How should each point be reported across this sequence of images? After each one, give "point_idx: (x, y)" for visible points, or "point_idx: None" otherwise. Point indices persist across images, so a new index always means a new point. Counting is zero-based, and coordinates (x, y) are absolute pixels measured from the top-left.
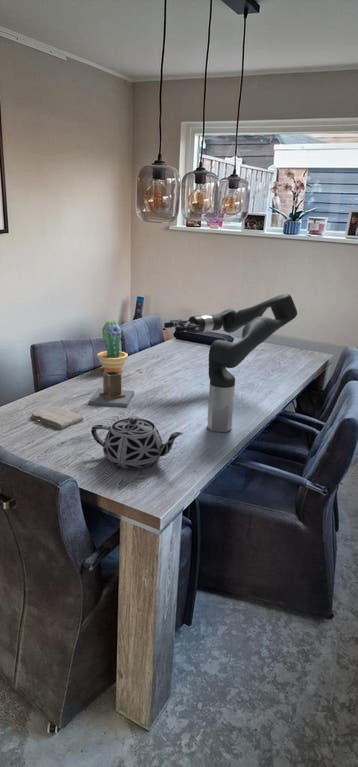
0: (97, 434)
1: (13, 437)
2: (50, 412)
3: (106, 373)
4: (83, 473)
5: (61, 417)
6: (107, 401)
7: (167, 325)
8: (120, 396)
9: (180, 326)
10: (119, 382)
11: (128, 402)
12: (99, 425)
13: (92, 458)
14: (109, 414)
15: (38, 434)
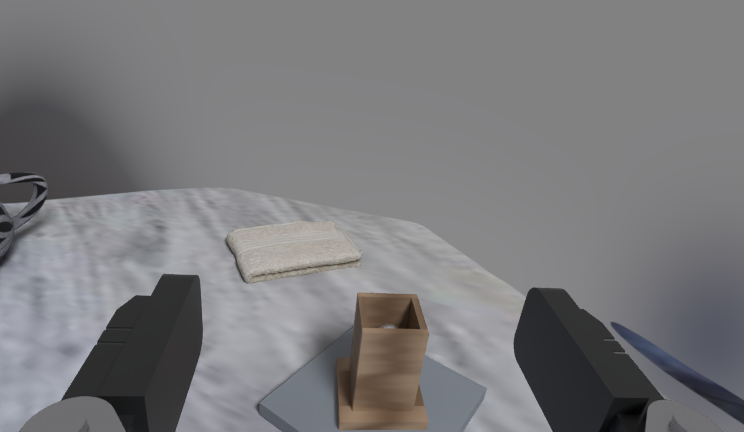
0: (34, 199)
1: (254, 198)
2: (315, 239)
3: (397, 297)
4: (6, 210)
5: (267, 241)
6: (325, 358)
7: (542, 352)
8: (338, 404)
9: (136, 328)
10: (357, 357)
11: (281, 422)
12: (17, 173)
13: (38, 233)
14: (236, 342)
15: (236, 217)
